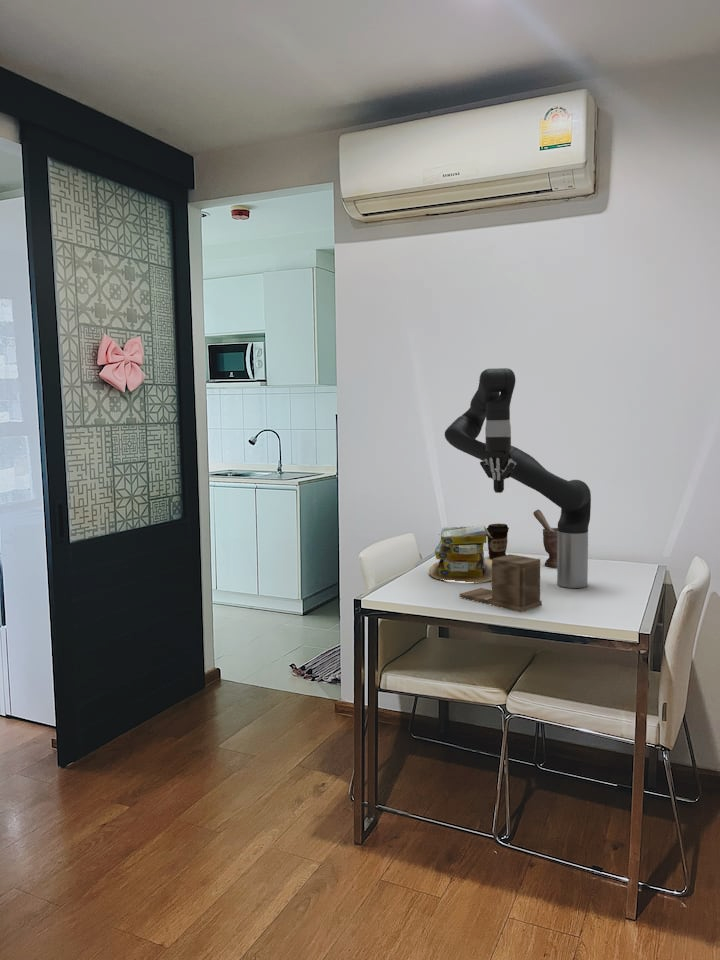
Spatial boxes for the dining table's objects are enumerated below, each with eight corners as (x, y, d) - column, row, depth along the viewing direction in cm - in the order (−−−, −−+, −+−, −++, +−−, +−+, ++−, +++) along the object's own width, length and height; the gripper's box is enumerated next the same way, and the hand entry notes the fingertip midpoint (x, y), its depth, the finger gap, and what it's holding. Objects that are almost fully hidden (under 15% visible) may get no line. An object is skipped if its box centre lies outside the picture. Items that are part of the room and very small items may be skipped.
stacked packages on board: (493, 586, 231) (493, 534, 229) (419, 580, 241) (418, 530, 239) (509, 569, 254) (509, 522, 252) (441, 565, 263) (440, 519, 262)
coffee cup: (513, 560, 268) (513, 525, 266) (491, 562, 266) (491, 527, 265) (503, 556, 276) (503, 522, 275) (482, 557, 274) (482, 523, 273)
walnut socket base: (459, 597, 218) (459, 553, 217) (480, 591, 224) (480, 548, 223) (520, 612, 202) (520, 564, 200) (541, 605, 208) (541, 558, 207)
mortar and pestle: (537, 568, 254) (537, 512, 252) (531, 563, 262) (531, 508, 260) (570, 568, 254) (570, 511, 252) (564, 562, 262) (564, 508, 260)
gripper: (472, 435, 221) (473, 492, 223) (508, 435, 212) (509, 495, 213) (488, 434, 226) (489, 490, 228) (523, 434, 217) (524, 492, 218)
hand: (498, 492), depth 221 cm, fingers closed
